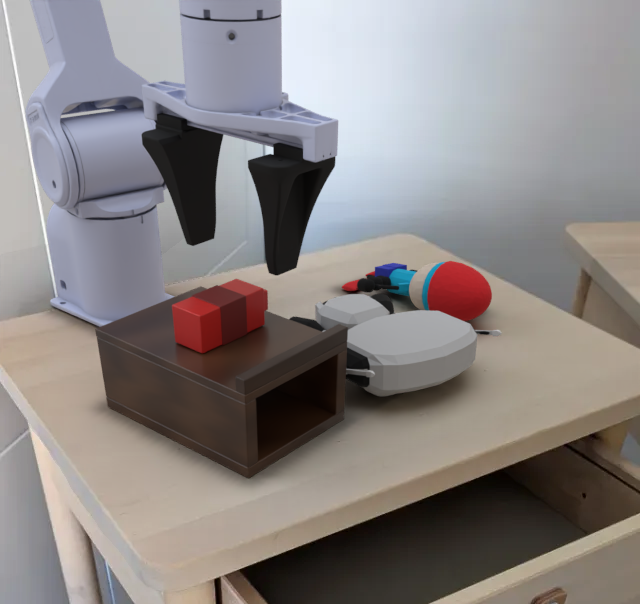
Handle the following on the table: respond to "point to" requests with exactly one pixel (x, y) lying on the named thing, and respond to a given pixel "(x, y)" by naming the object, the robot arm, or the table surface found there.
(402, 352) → the robot toy
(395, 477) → the table surface
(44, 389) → the table surface
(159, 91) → the robot arm
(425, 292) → the toy figure
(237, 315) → the red block
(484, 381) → the table surface
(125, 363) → the shelf
